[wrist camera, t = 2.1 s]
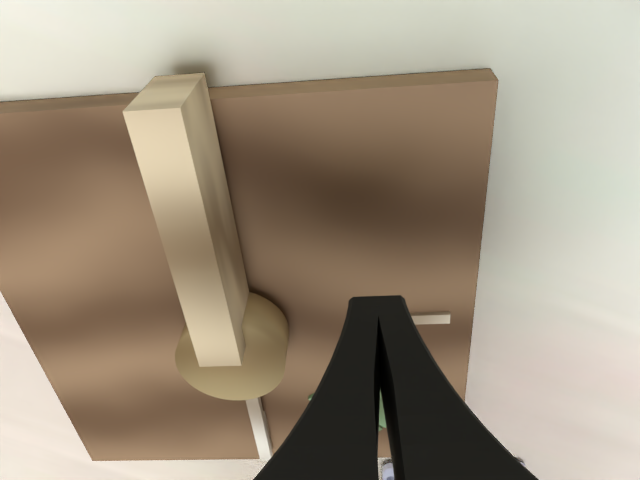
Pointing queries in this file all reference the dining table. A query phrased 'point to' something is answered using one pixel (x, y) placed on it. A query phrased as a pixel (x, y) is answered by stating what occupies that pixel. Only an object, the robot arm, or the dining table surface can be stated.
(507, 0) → the dining table surface
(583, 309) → the dining table surface
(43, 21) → the dining table surface
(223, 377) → the dial lever
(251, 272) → the dial board
